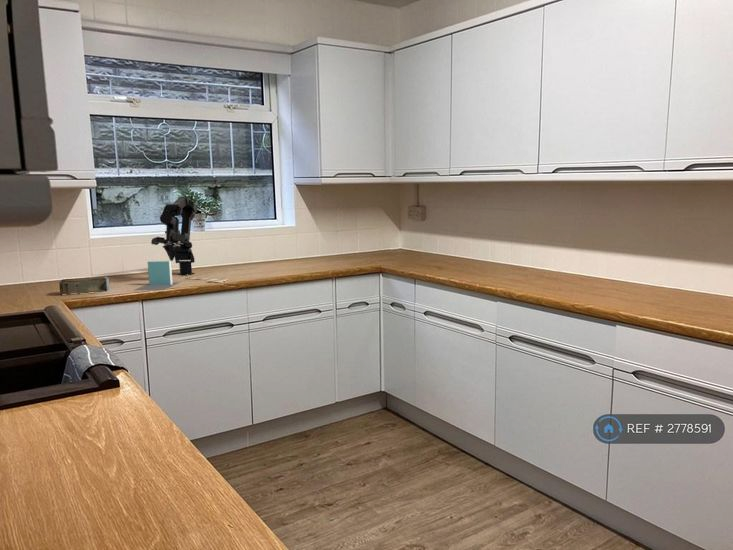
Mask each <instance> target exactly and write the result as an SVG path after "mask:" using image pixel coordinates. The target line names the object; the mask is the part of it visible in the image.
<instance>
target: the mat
mask: <svg viewBox="0 0 733 550" xmlns="http://www.w3.org/2000/svg"><path fill="white" fill-rule="evenodd" d="M172 283H173V284H172V285H149V283H148V284H145V285H142V286H140V287H137V288H135V289H134V291H165V290H168V289H170V288H172V287H174V286H176V285H177V284H179V283H181V282H180V281H179V282H178V281H177V282H176V281H175V282H173V281H172Z"/></svg>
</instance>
